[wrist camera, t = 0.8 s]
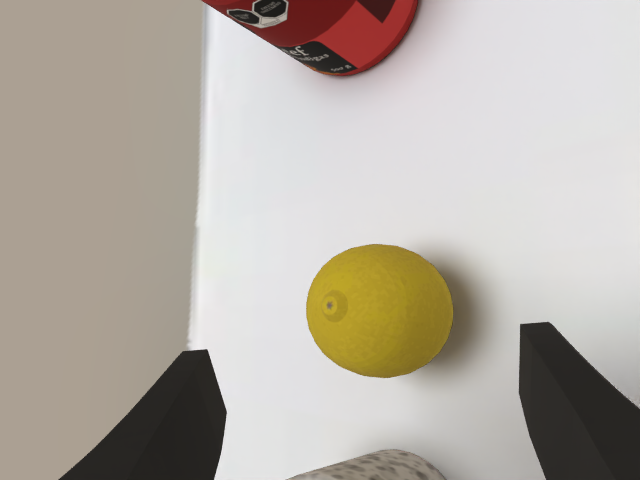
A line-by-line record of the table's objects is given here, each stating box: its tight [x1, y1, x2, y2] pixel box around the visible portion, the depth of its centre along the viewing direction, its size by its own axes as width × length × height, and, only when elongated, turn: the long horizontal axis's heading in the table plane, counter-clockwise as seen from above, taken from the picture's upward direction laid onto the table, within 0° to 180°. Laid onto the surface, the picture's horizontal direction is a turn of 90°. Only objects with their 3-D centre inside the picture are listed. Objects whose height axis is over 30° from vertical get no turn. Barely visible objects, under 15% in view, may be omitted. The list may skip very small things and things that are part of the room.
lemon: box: [306, 244, 453, 378], centre depth 25 cm, size 6×6×8 cm
